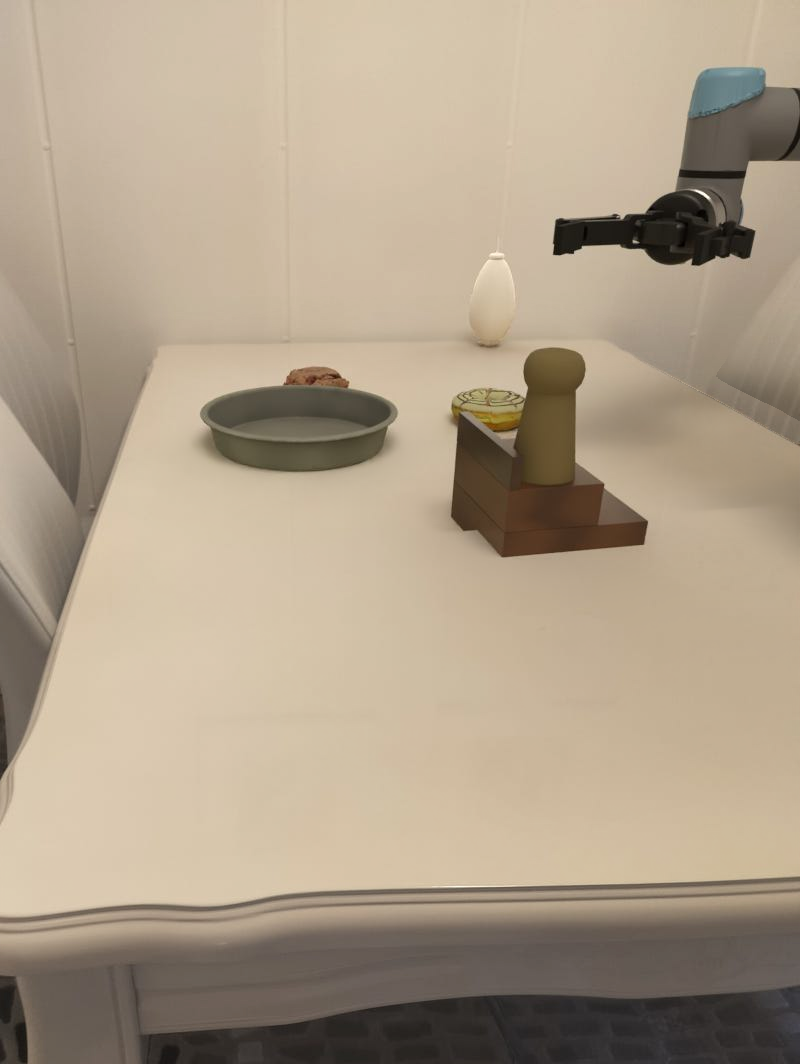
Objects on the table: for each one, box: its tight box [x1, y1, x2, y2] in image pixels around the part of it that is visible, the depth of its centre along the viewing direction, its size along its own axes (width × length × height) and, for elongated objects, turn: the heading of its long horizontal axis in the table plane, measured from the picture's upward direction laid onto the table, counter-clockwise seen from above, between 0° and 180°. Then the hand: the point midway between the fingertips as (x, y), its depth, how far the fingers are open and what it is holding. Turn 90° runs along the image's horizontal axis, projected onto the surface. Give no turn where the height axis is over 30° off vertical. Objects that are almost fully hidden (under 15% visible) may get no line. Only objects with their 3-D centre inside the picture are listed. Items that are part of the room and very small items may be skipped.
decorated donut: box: [450, 387, 526, 432], centre depth 124 cm, size 10×11×4 cm
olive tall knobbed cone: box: [513, 346, 587, 485], centre depth 81 cm, size 6×6×11 cm
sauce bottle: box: [468, 236, 517, 347], centre depth 161 cm, size 8×8×18 cm
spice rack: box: [450, 412, 649, 558], centre depth 88 cm, size 14×14×11 cm
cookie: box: [282, 365, 350, 388], centre depth 138 cm, size 10×11×3 cm
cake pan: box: [199, 384, 399, 471], centre depth 115 cm, size 25×25×4 cm
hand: (625, 245), depth 89 cm, fingers open, 13 cm apart
